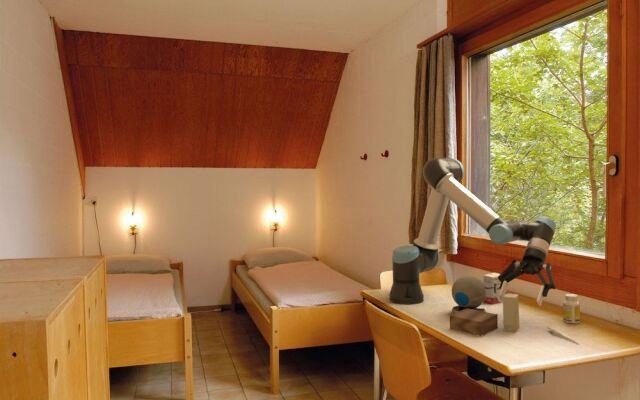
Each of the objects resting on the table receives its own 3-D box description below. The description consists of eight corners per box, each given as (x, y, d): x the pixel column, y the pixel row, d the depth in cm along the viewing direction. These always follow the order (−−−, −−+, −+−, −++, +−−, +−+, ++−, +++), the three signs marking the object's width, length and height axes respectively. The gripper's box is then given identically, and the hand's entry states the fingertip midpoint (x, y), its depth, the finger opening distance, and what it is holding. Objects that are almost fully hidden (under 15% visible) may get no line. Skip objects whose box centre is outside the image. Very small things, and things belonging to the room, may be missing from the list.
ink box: (492, 304, 202) (492, 276, 201) (482, 302, 206) (482, 274, 205) (505, 301, 206) (505, 274, 206) (495, 299, 210) (495, 272, 210)
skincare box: (516, 332, 165) (515, 298, 164) (502, 330, 167) (502, 296, 167) (519, 327, 170) (519, 294, 170) (506, 326, 173) (506, 292, 172)
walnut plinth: (449, 329, 171) (449, 315, 171) (467, 321, 179) (466, 308, 179) (480, 336, 162) (480, 321, 162) (497, 328, 170) (497, 314, 170)
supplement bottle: (578, 319, 177) (578, 293, 177) (581, 324, 172) (581, 297, 172) (562, 318, 179) (562, 293, 179) (564, 323, 174) (564, 296, 174)
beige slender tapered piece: (544, 330, 166) (544, 325, 166) (551, 330, 167) (551, 324, 167) (575, 347, 152) (576, 341, 151) (583, 346, 152) (583, 340, 152)
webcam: (491, 312, 190) (491, 275, 189) (477, 320, 180) (476, 280, 180) (461, 307, 199) (460, 271, 198) (445, 314, 189) (445, 276, 189)
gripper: (574, 262, 173) (558, 312, 163) (506, 255, 191) (489, 300, 181) (568, 249, 169) (552, 300, 159) (500, 244, 187) (482, 289, 177)
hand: (519, 300), depth 170 cm, fingers open, 13 cm apart
